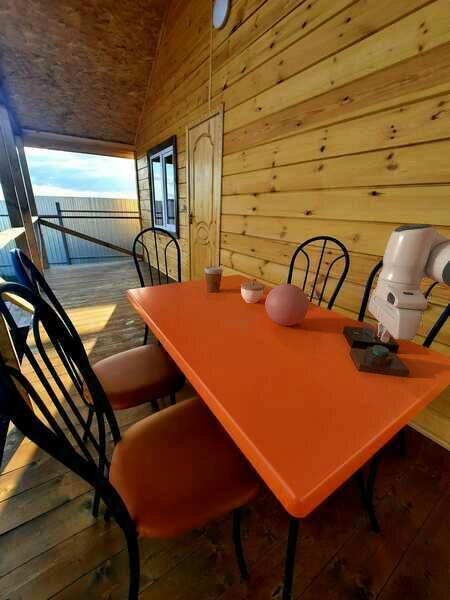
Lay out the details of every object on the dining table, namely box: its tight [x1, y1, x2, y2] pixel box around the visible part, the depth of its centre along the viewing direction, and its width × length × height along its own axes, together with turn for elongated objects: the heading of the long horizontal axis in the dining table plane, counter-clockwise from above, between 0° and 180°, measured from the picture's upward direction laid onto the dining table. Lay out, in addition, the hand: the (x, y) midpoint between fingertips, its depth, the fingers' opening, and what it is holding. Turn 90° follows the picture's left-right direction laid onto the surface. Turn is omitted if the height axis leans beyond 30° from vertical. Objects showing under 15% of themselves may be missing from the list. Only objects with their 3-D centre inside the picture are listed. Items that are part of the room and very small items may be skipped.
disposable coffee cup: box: [203, 265, 224, 293], centre depth 131 cm, size 10×10×12 cm
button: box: [372, 345, 388, 357], centre depth 70 cm, size 4×4×2 cm
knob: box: [362, 319, 378, 339], centre depth 82 cm, size 6×2×4 cm, turn 4°
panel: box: [342, 325, 400, 355], centre depth 83 cm, size 13×11×3 cm
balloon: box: [264, 283, 310, 327], centre depth 94 cm, size 15×20×15 cm
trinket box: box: [240, 280, 265, 304], centre depth 117 cm, size 11×11×9 cm
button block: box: [349, 347, 411, 379], centre depth 70 cm, size 12×9×4 cm
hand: (382, 339), depth 69 cm, fingers closed
